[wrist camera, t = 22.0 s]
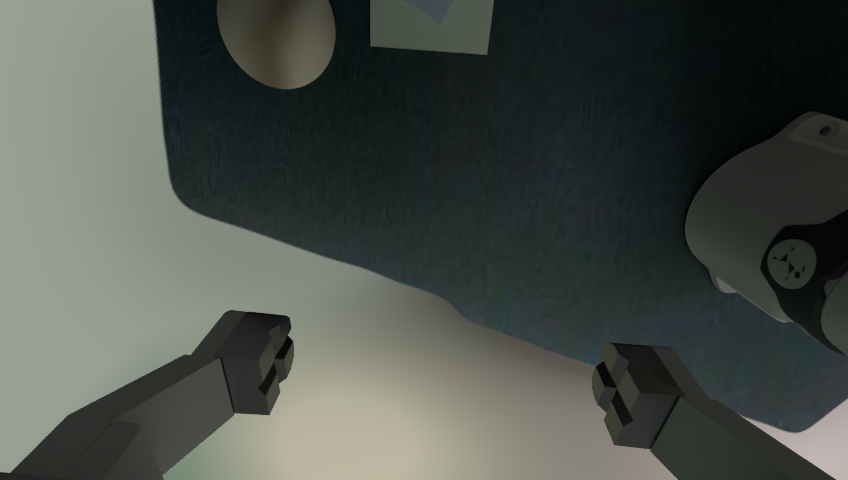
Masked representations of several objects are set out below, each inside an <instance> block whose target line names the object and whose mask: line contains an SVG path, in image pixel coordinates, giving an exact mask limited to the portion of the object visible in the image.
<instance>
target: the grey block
mask: <svg viewBox="0 0 848 480" xmlns="http://www.w3.org/2000/svg"><path fill="white" fill-rule="evenodd" d="M404 1H406V2H407V3H409V4H410V5H412V6H413V7H415V8H416V9H418V10H419V11H421V12H422V13H423V14H425V15H426V16H428V17H429V18H431V19H432V20H434V21H435V22H437V23H438V24H440V25H442V24H443V22H444V20H445V18H446V16H447V14H448V12H449V10H450V9H451V7H452V5H453V3H454V1H455V0H404Z"/></svg>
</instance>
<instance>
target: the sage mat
mask: <svg viewBox="0 0 848 480" xmlns="http://www.w3.org/2000/svg"><path fill="white" fill-rule="evenodd" d="M493 4H494V0H455V1H454V3H453V5H452V7H451V9H450V10H449V12H448V14H447V16H446V18H445V20H444V22H443V24H442V25H440V24H438V23H437V22H435V21H434V20H432V19H431V18H429V17H428V16H426V15H425V14H423V13H422V12H421V11H419V10H418V9H416V8H415V7H413V6H412V5H410V4H409V3H407V2H406V1H404V0H370V46H375V47H389V48H402V49H416V50H429V51H443V52H456V53H470V54H484V55H487V51H488V43H489V35H490V27H491V20H492V12H493Z"/></svg>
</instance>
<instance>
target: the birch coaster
mask: <svg viewBox="0 0 848 480" xmlns="http://www.w3.org/2000/svg"><path fill="white" fill-rule="evenodd" d="M217 19H218V25H219V29H220V33H221V36H222V39H223V41H224V43H225V45H226V48H227V49H228V51H229V53H230V54H231V56H232V57H233V59H234V60H235V62H236V63H237V64H238V65H239V66H240V67H241V68H242V69H243V70H244V71H245V72H246V73H247V74H248V75H250V76H251V77H252V78H254V79H255V80H257V81H259V82H261V83H263V84H265V85H267V86H271V87H274V88H280V89H293V88H298V87H302V86H305V85H307V84H309V83H311V82H312V81H314V80H315V79H316V78H317V77H319V76H320V75H321V74H322V72H323V71H324V70H325V69H326V67H327V65H328V63H329V62H330V59H331V57H332V54H333V50H334V45H335V33H336V30H335V21H334V16H333V12H332V8H331V5H330V3H329V0H217Z"/></svg>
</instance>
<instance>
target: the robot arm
mask: <svg viewBox="0 0 848 480" xmlns="http://www.w3.org/2000/svg"><path fill="white" fill-rule="evenodd" d="M822 128H824V129H823V131H822V132H821V133H820V131H821V129H822ZM685 235H686V240H687V243H688V246H689V248H690V250H691V252H692V253H693V254H694V256H695V257H696V258H697V259H698V260H699V261H701V262H702V263H703V264H704V265H705V266H706V267H707V268H708V270H709V273H710V276H711V280H712V282H713V284H714V286H715V287H716V288H718V289H719V290H721V291H722V292H725V293H735V292H738V293H739V294H741V295H742V296H743V297H745V298H746V299H748V300H749V301H750V302H752V303H753V304H755V305H756V306H757V307H759V308H760V309H762V310H763V311H764V312H766V313H767V314H769V315H770V316H771V317H773V318H774V319H776V320H778V321H781V322H787V321H789V322H795V323H796V325H798V326H799V327H800V329H801V330H802V331H804V332H805V333H806V334H808V335H809V336H810V337H812V338H813V339H815V340H816V341H817V340H818V341H819V342H820V343H822V344H823V345H825V346H826V347H827V348H829V349H831V350H833V351H835V352H837V353H840V354H843V355H847V356H848V121H846V120H842V119H839V118H836V117H833V116H829V115H826V114H823V113H820V112H815V111H811V112H807V113H805V114H803V115H801V116H799V117H798V118H796V119H795V120H794V121H792V122H791V123H790V124H788V125H787V126H786V127H785V128H784V129H782V130H781V131H780V132H779V133H778V134H777V135H775V136H774V137H772V138H770V139H768V140H767V141H765V142H762V143H760V144H758V145H755V146H753V147H751V148H749V149H747V150H745V151H743V152H741V153H739V154H738V155H736V156H734V157H733V158H731V159H730V160H729V161H727V162H726V163H724V164H723V165H722V166H721V167H719V168H718V169H717V170H716V171H715V172H714V173H713V174H712V175H711V176H710V177H709V178H708V179H707V180H706V181H705V183H704V184H703V185H702V186H701V188H700V189H699V191H698V192H697V194H696V195H695V197H694V199H693V201H692V203H691V205H690V208H689V210H688V214H687V218H686V223H685ZM290 330H291V322H290V318H289V317H288V316H284V315H275V314H265V313H256V312H243V311H234V310H230V311H227V312H225V313H224V314H223V316H222V317H221V318H220V319H219V321H218V322H217V323H216V324H215V326H214V327H213V328H212V329H211V331H210V332H209V333H208V335H207V336H206V337H205V338H204V339H203V340H202V342H201V343H200V344H199V346H198V347H197V348H196V349H195V351H194V352H193V353H192V354H191V355H183V356H181V357H179V358H177V359H175V360H173V361H172V362H170V363H168V364H166V365H164V366H162V367H160V368H158V369H156V370H154V371H152V372H150V373H149V374H147V375H145V376H143V377H141V378H139V379H137V380H135V381H133V382H131V383H129V384H127V385H125V386H124V387H122V388H120V389H118V390H116V391H114V392H112V393H110V394H108V395H106V396H104V397H102V398H100V399H98V400H96V401H95V402H93V403H91V404H89V405H87V406H85V407H83V408H81V409H79V410H78V411H75V412H73V413H71V414H70V415H68V416H67V417H66V418H65V419H64V420H63V421H62V422H61V423H60V424H59V425H58V426H57V427H56V428H55V429H54V430H53V431H52V432H51V433H50V434H49V435H48V436H47V437H46V438H45V439H44V440H43V441H42V442H41V443H40V444H39V445H38V446H37V447H36V448H35V449H34V450H33V451H32V452H31V453H30V454H29V455H28V456H27V457H26V458H25V459H24V460H23V461H22V462H21V463H20V464H19V465H18V466H17V467H16V468H15V469H14V470H13V471H12V472H11V473H4V472H0V480H164V479H163V477H162V475H163V474H164V473H166V472H167V471H168V470H169V469H170V468H172V467H173V466H174V465H175V464H176V463H177V462H179V461H180V460H181V459H182V458H183V457H185V456H186V455H187V454H188V453H189V452H191V451H192V450H193V449H194V448H195V447H197V446H198V445H199V444H200V443H201V442H203V441H204V440H205V439H206V438H207V437H208V436H210V435H211V434H212V433H213V432H214V431H216V430H217V429H218V428H219V427H220V426H222V425H223V424H224V423H225V422H226V421H228V420H229V419H230V418H231V417H232V416H233V415H234V413H242V414H260V415H270V413H271V410H272V408H273V406H274V404H275V402H276V400H277V398H278V395H279V393H280V389H279V383H280V382H282V381H283V380H284V379H286V378H287V376H288V374H289V372H290V369H291V366H292V362H293V357H294V344H293V341H292V339H291V338H290V337H289V336H288V334H289V332H290ZM601 356H602V358H603V360H604V361H603V362H602V363H600V364H599V365H597V366H596V367H595V370H594V373H593V378H592V388H593V393H594V397H595V399H596V402H597V404H598V405H599V406H600V407H601V408H602V409H603V410H604V411H605V412H607V414H606V416H605V419H604V421H605V424H606V426H607V429H608V431H609V433H610V436H611V438H612V441H613V443H614V445H619V446H627V447H637V448H644V449H651V450H650V451H651V452H652V453H653V454H654V455H655V456H656V457H657V459H659V461H660V462H661V463H662V464H663V465H664V466H665V467H666V468H667V469H668V470H669V471H670V472H671V473H672V474H673V475H674V476H675V477H676V478H677V479H678V480H836V479H834V478H833V477H831V476H830V475H828V474H827V473H825V472H824V471H822V470H821V469H819V468H818V467H816V466H815V465H813V464H812V463H810V462H809V461H807V460H806V459H804V458H803V457H801V456H800V455H798V454H797V453H795V452H794V451H792V450H791V449H789V448H788V447H786V446H785V445H783V444H782V443H780V442H779V441H777V440H776V439H774V438H773V437H771V436H770V435H768V434H767V433H765V432H764V431H762V430H761V429H759V428H757V427H756V426H755V425H753V424H751V423H750V422H749V421H747V420H746V419H744V418H743V417H741V416H740V415H738V414H737V413H735V412H734V411H732V410H731V409H729V408H728V407H726V406H725V405H723V404H722V403H720V402H719V401H717V400H712V399H709V398H708V396H707V395H706V393H705V392H704V391H703V389H702V388H701V387H700V385H699V384H698V383H697V381H696V380H695V379H694V377H693V376H692V374H691V373H690V372H689V370H688V369H687V368H686V366H685V365H684V364H683V362H682V361H681V359H680V358H679V357H678V355H677V354H676V353H675V351H674V350H673V349H671V348H670V347H667V346H652V345H647V346H645V345H633V344H620V343H606V344H605V345H604V346H603V349H602V351H601Z"/></svg>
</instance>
